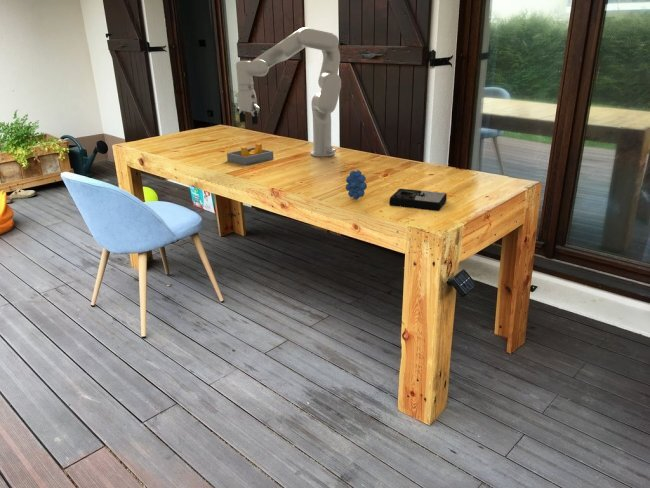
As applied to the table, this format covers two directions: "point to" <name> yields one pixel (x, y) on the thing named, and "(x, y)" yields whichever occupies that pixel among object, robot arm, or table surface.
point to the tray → (249, 157)
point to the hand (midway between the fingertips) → (248, 123)
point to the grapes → (356, 184)
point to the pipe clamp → (253, 152)
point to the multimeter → (418, 199)
